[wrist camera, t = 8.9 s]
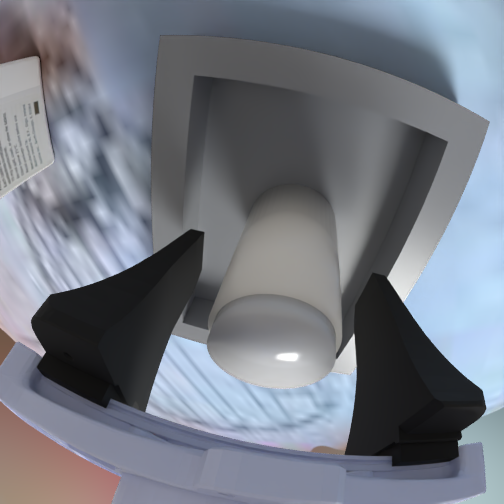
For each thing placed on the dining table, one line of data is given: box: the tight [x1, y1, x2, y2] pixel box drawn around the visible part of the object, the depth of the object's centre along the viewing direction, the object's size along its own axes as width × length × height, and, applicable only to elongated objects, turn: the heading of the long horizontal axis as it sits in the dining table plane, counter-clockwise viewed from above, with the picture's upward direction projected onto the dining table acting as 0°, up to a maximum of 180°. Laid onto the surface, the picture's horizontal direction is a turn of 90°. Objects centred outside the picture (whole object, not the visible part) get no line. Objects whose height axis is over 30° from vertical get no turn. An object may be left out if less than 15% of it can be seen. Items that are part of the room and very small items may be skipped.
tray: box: [151, 35, 490, 375], centre depth 15 cm, size 13×17×3 cm
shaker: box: [207, 184, 342, 389], centre depth 12 cm, size 4×4×8 cm
